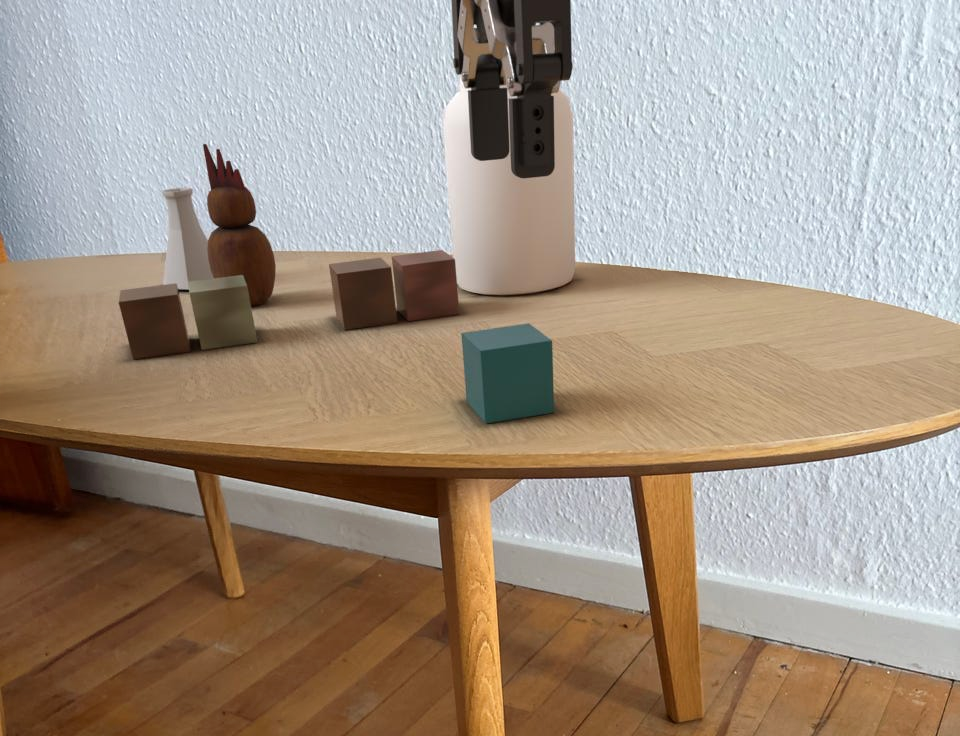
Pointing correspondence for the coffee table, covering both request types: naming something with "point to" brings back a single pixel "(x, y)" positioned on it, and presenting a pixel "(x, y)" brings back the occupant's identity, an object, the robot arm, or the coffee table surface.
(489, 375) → the teal block
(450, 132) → the white jar
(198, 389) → the coffee table surface
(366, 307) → the block row
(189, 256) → the flask
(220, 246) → the wooden figurine
